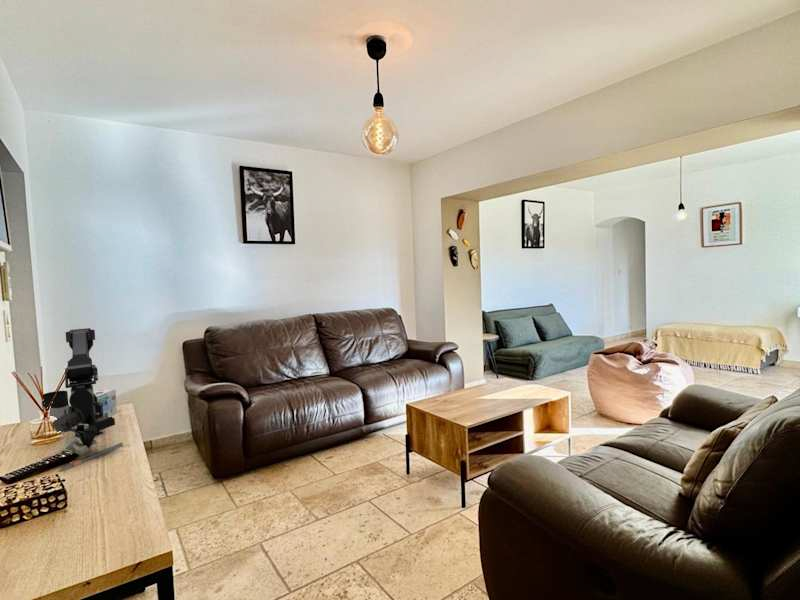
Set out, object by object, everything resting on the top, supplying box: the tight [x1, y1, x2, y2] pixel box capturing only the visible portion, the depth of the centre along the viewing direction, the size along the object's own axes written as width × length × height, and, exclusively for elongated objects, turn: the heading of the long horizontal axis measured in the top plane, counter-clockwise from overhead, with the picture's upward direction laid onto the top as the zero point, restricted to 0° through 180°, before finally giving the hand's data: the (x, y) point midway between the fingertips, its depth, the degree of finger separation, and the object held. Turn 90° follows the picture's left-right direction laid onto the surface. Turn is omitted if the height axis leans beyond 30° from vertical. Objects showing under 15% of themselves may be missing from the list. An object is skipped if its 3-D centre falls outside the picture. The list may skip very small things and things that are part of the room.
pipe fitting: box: [58, 436, 89, 457], centre depth 133 cm, size 8×4×7 cm
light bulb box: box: [93, 388, 118, 417], centre depth 170 cm, size 11×7×11 cm, turn 1°
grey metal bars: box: [31, 439, 124, 472], centre depth 131 cm, size 19×14×2 cm
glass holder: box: [41, 390, 71, 434], centre depth 155 cm, size 9×14×15 cm, turn 108°
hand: (87, 447), depth 134 cm, fingers closed
